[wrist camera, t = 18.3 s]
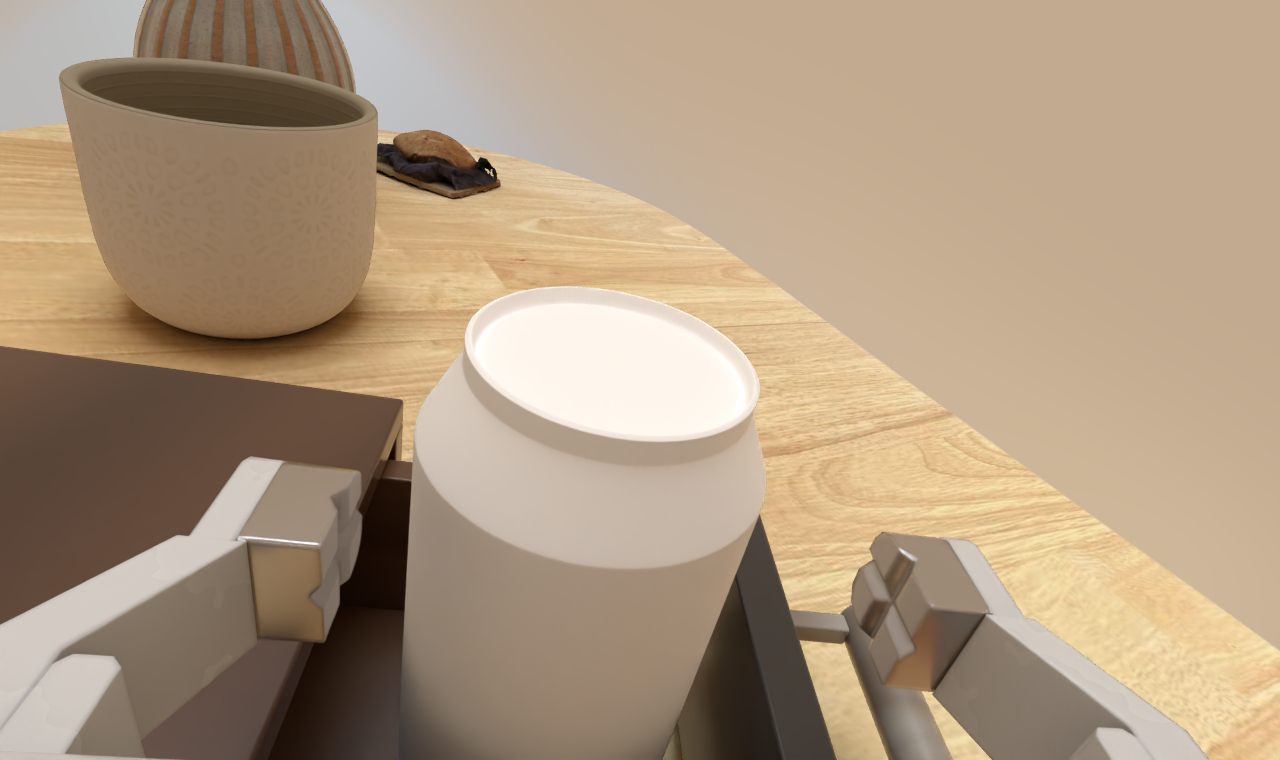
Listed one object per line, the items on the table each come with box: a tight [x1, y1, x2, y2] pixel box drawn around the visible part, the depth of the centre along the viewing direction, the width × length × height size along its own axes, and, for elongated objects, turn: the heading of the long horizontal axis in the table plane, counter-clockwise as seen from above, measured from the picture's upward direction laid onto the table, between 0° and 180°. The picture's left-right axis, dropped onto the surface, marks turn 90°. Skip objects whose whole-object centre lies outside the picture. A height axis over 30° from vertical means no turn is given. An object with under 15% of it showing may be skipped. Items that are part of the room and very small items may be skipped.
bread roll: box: [376, 130, 500, 198], centre depth 61 cm, size 11×8×4 cm
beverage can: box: [398, 287, 767, 760], centre depth 14 cm, size 6×6×12 cm
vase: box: [133, 0, 356, 94], centre depth 46 cm, size 13×13×18 cm
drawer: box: [268, 459, 953, 760], centre depth 17 cm, size 17×11×6 cm
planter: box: [59, 58, 378, 339], centre depth 34 cm, size 12×12×11 cm
